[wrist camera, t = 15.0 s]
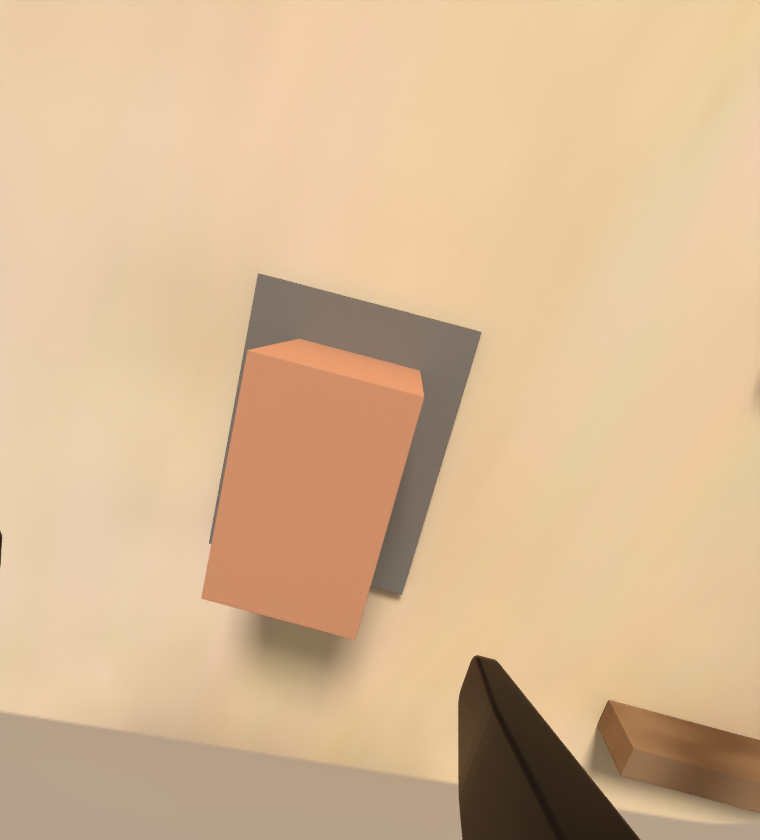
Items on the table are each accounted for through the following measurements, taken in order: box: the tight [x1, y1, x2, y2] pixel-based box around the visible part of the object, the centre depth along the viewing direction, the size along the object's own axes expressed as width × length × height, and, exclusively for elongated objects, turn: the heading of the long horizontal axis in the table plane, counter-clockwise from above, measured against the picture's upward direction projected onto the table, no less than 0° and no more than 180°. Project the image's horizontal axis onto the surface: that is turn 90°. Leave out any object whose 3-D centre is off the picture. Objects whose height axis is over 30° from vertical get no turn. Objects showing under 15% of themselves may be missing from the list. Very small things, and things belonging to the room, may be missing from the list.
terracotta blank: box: [201, 339, 424, 640], centre depth 16 cm, size 8×5×6 cm, turn 165°
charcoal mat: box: [209, 273, 481, 595], centre depth 20 cm, size 9×12×1 cm
